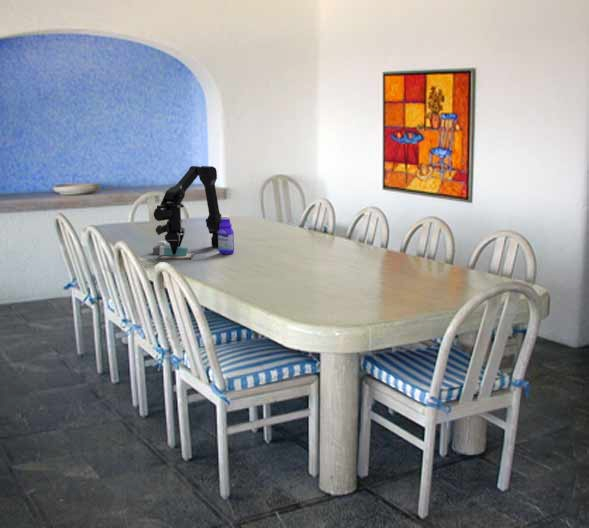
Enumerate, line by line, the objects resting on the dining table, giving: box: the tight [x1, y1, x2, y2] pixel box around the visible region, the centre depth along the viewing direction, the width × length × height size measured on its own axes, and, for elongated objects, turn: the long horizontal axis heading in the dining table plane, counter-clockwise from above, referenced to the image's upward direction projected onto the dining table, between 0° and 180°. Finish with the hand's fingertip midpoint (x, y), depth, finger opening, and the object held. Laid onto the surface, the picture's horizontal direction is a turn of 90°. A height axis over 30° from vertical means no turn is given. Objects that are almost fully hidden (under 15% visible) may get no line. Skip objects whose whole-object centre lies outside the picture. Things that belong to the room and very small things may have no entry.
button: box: [156, 240, 167, 247], centre depth 357 cm, size 4×4×3 cm
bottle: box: [217, 215, 235, 255], centre depth 353 cm, size 7×6×17 cm
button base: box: [152, 244, 170, 255], centre depth 357 cm, size 7×7×3 cm
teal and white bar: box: [160, 246, 189, 256], centre depth 347 cm, size 12×4×4 cm, turn 90°
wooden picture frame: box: [156, 252, 195, 260], centre depth 347 cm, size 15×11×1 cm
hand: (175, 252), depth 347 cm, fingers open, 9 cm apart
